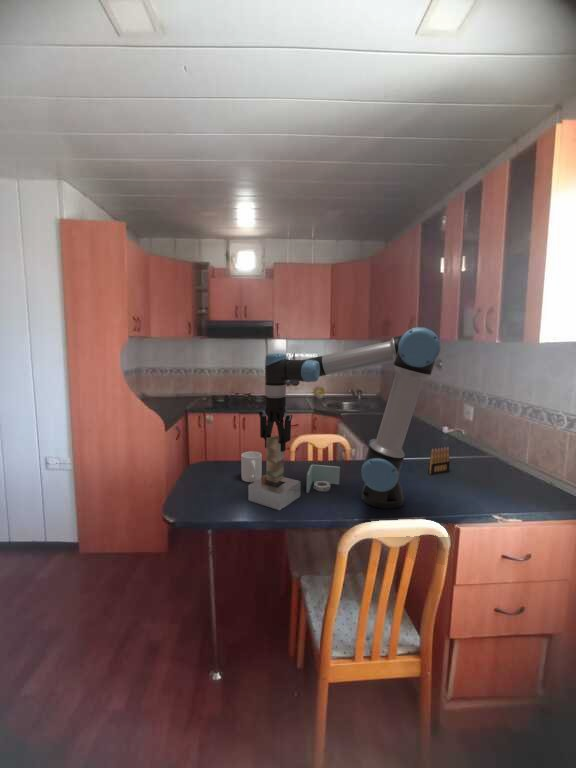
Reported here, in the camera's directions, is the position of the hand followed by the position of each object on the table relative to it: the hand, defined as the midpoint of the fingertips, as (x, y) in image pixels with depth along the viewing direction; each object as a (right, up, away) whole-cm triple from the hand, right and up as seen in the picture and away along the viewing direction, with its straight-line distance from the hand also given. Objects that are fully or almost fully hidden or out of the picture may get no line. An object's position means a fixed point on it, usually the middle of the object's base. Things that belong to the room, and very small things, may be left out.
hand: (275, 458), depth 136 cm
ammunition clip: (+73, -13, +30) cm, 80 cm away
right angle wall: (+19, -15, +12) cm, 27 cm away
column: (0, -8, +1) cm, 8 cm away
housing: (0, -16, +2) cm, 16 cm away
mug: (-10, -14, +19) cm, 26 cm away
